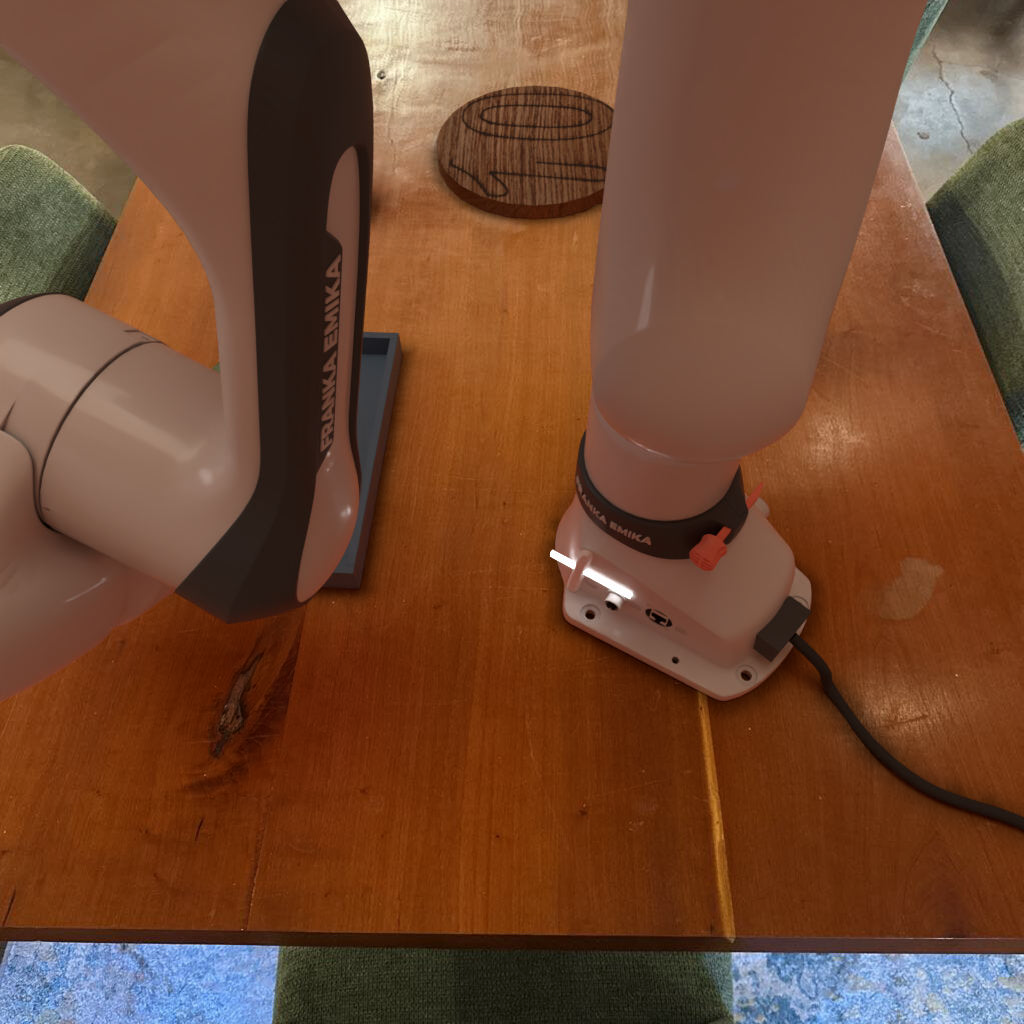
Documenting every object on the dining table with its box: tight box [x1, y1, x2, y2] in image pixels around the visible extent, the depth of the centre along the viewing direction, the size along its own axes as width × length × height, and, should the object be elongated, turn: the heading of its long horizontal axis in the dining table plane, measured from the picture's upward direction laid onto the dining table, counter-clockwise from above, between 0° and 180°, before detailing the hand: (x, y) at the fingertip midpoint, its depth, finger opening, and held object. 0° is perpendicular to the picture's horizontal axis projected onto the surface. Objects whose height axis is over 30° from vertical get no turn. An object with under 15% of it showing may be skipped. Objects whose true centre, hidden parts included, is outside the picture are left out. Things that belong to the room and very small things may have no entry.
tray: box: [217, 331, 404, 590], centre depth 73 cm, size 28×18×3 cm, turn 176°
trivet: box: [435, 85, 614, 220], centre depth 97 cm, size 25×25×2 cm
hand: (220, 487), depth 58 cm, fingers closed
